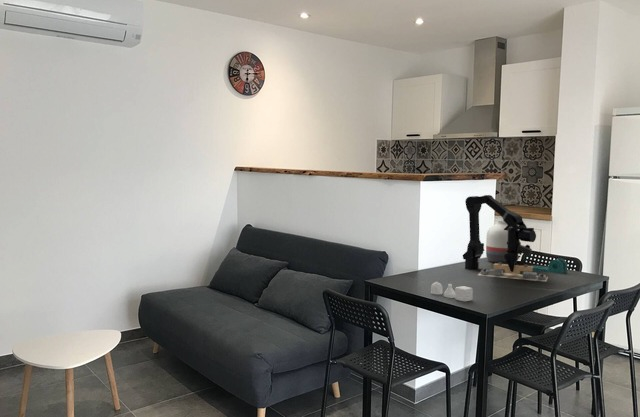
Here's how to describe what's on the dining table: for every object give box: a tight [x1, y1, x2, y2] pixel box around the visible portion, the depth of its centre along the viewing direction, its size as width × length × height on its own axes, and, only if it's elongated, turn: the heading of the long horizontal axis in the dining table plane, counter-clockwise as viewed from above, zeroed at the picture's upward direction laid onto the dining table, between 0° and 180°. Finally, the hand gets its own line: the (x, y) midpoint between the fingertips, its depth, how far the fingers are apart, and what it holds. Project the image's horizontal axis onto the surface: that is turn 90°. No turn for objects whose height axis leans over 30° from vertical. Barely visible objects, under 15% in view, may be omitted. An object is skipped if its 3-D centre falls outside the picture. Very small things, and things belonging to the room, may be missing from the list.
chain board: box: [477, 271, 549, 282], centre depth 263 cm, size 32×12×1 cm, turn 63°
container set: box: [430, 281, 474, 302], centre depth 225 cm, size 20×5×6 cm, turn 35°
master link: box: [492, 262, 534, 274], centre depth 262 cm, size 18×4×5 cm, turn 64°
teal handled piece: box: [532, 258, 568, 275], centre depth 277 cm, size 18×7×8 cm, turn 42°
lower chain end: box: [480, 268, 504, 276], centre depth 267 cm, size 10×6×2 cm, turn 63°
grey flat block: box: [522, 271, 547, 280], centre depth 258 cm, size 10×6×2 cm, turn 63°
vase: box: [485, 220, 508, 264], centre depth 307 cm, size 17×17×24 cm
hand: (512, 270), depth 262 cm, fingers closed on master link, 4 cm apart
